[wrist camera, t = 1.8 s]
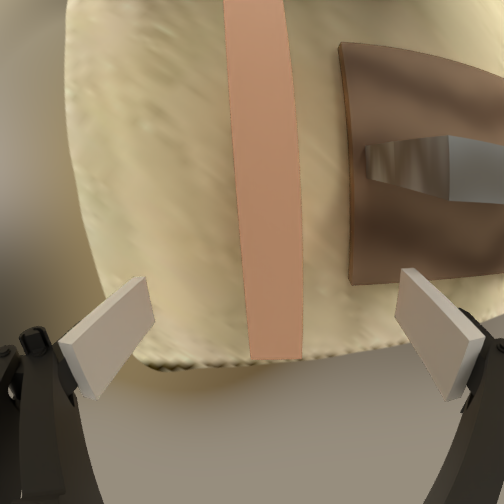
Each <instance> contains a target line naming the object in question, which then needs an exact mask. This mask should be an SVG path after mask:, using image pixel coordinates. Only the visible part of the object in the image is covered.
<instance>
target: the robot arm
mask: <svg viewBox="0 0 504 504" xmlns="http://www.w3.org/2000/svg"><path fill="white" fill-rule="evenodd" d="M395 318H396V320H397V321H398V323H399V325H400V326H401V328H402V329H403V331H404V332H405V334H406V336H407V337H408V339H409V340H410V342H411V344H412V345H413V347H414V349H415V350H416V352H417V353H418V355H419V357H420V358H421V360H422V362H423V363H424V365H425V367H426V369H427V370H428V372H429V374H430V376H431V377H432V379H433V381H434V383H435V384H436V386H437V388H438V390H439V392H440V394H441V395H442V397H443V399H444V401H445V402H447V401H451V400H454V399H457V398H461V396H462V394H463V392H464V390H465V387H466V385H467V387H468V388H469V390H470V391H471V392H470V395H469V396H468V398H467V400H466V402H465V404H464V406H463V408H462V410H461V412H460V413H463V414H462V417H461V420H460V423H459V426H458V429H457V432H456V435H455V437H454V440H453V442H452V445H451V447H450V450H449V452H448V455H447V457H446V459H445V461H444V464H443V466H442V468H441V470H440V473H439V474H438V477H437V478H436V481H435V483H434V484H433V487H432V488H431V491H430V492H429V494H428V496H427V498H426V499H425V501H424V503H423V504H497V500H498V498H499V495H500V491H501V488H502V485H503V481H504V339H502V338H499V339H494V338H493V337H492V336H491V334H490V333H489V332H488V331H486V329H485V328H484V327H482V325H480V323H479V322H478V321H477V320H475V318H474V317H473V316H472V315H471V314H470V313H468V312H467V311H465V310H463V309H461V308H457V307H456V306H455V305H454V304H453V303H452V302H451V301H450V300H449V299H448V298H447V297H446V296H444V295H443V294H442V293H441V292H440V291H439V290H438V289H437V288H436V287H435V286H434V285H433V284H432V283H430V282H429V281H428V280H427V279H426V278H425V277H424V276H423V275H422V274H420V273H419V272H418V271H417V270H416V269H415V268H403V269H401V274H400V283H399V291H398V298H397V305H396V311H395ZM154 323H155V318H154V314H153V310H152V305H151V301H150V296H149V291H148V287H147V282H146V277H132V278H131V279H130V280H129V281H127V282H126V283H125V284H124V285H123V286H121V287H120V288H119V289H118V290H117V291H115V292H114V293H113V294H112V295H111V296H109V297H108V298H107V299H106V300H105V301H103V302H102V303H101V304H100V305H99V306H98V307H96V308H95V309H94V310H93V311H92V312H91V313H89V314H88V315H87V316H86V317H85V318H84V319H83V320H81V321H79V322H78V323H77V324H76V325H74V327H73V328H71V329H70V330H69V331H68V333H65V334H64V335H63V336H62V337H61V338H60V339H59V340H58V341H57V342H55V343H54V344H53V345H51V342H50V340H49V337H48V335H47V332H46V330H45V328H44V327H40V326H37V327H32V328H29V329H27V330H25V331H24V332H23V333H21V334H20V336H19V340H20V342H21V345H22V347H23V349H24V352H25V354H26V355H25V356H23V355H19V353H18V351H17V349H16V347H15V346H14V345H8V346H6V345H5V346H3V347H1V348H0V504H104V503H103V500H102V497H101V494H100V491H99V489H98V485H97V482H96V479H95V476H94V473H93V469H92V466H91V462H90V459H89V455H88V451H87V447H86V443H85V438H84V434H83V429H82V425H81V419H80V414H79V409H78V402H77V397H76V395H75V393H74V390H75V389H76V388H77V386H78V388H79V389H80V391H81V393H82V395H83V397H86V398H89V399H93V400H96V401H97V400H98V399H99V398H100V396H101V395H102V393H103V392H104V391H105V389H106V388H107V386H108V385H109V384H110V382H111V381H112V379H113V378H114V377H115V375H116V374H117V373H118V371H119V370H120V369H121V367H122V366H123V364H124V363H125V362H126V360H127V359H128V358H129V356H130V355H131V354H132V352H133V351H134V350H135V348H136V347H137V346H138V344H139V343H140V342H141V340H142V339H143V338H144V336H145V335H146V334H147V332H148V331H149V330H150V328H151V327H152V326H153V325H154ZM8 387H9V388H10V389H11V391H12V393H13V395H14V396H13V398H11V397H10V396H9V394H8ZM21 489H22V498H20V497H21Z"/></svg>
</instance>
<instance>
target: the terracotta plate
mask: <svg viewBox="0 0 504 504" xmlns="http://www.w3.org/2000/svg"><path fill="white" fill-rule="evenodd" d="M223 5H224V23H225V39H226V55H227V71H228V86H229V100H230V115H231V129H232V142H233V156H234V169H235V182H236V195H237V207H238V220H239V232H240V244H241V256H242V267H243V279H244V290H245V302H246V313H247V324H248V334H249V345H250V356H251V359H253V360H274V359H302V337H303V243H302V208H301V184H300V165H299V149H298V134H297V121H296V109H295V97H294V87H293V77H292V67H291V58H290V50H289V41H288V33H287V26H286V18H285V11H284V5H283V0H223Z"/></svg>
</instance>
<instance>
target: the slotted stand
mask: <svg viewBox="0 0 504 504" xmlns="http://www.w3.org/2000/svg"><path fill="white" fill-rule="evenodd" d="M338 52H339V59H340V66H341V73H342V81H343V89H344V99H345V109H346V120H347V133H348V149H349V170H350V254H349V276H348V279H349V281H350V283H351V285H370V284H386V283H400V274H401V269H403V268H415V269H416V270H417V271H418V272H419V273H420V274H422V275H423V276H424V277H425V278H426V279H427V280H439V279H451V278H461V277H471V276H481V275H490V274H499V273H504V78H502V77H499V76H497V75H494V74H492V73H489V72H486V71H484V70H481V69H478V68H475V67H472V66H469V65H466V64H463V63H459V62H456V61H452V60H449V59H445V58H441V57H437V56H433V55H429V54H424V53H420V52H415V51H410V50H404V49H399V48H392V47H386V46H378V45H370V44H361V43H349V42H341V43H340V45H339V47H338Z"/></svg>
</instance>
